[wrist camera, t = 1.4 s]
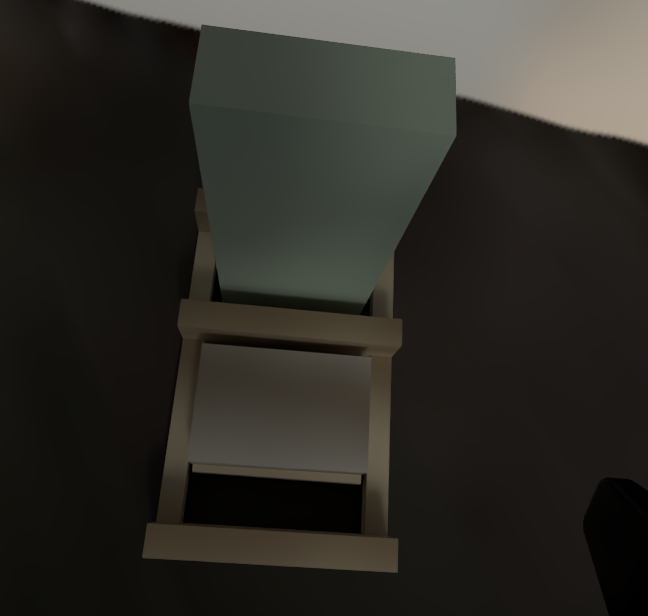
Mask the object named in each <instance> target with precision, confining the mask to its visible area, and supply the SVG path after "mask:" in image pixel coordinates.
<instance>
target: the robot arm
mask: <svg viewBox="0 0 648 616" xmlns="http://www.w3.org/2000/svg"><path fill="white" fill-rule="evenodd" d="M583 529H584V534H585V538H586V541H587V544H588V548H589V551H590V554H591V558H592V561H593V564H594V567H595V571H596V574H597V577H598V581H599V584H600V587H601V590H602V594H603V597H604V600H605V603H606V607H607V610H608V613H609V616H648V491H647V490H646V489H644V488H643V487H641V486H640V485H638V484H637V483H635V482H634V481H632V480H629V479H621V478H604V479H602V480H601V481H600V482H599V483H598V485H597V487H596V490H595V492H594V494H593V497H592V499H591V501H590V504H589V506H588V508H587V511H586V513H585V516H584V521H583Z"/></svg>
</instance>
